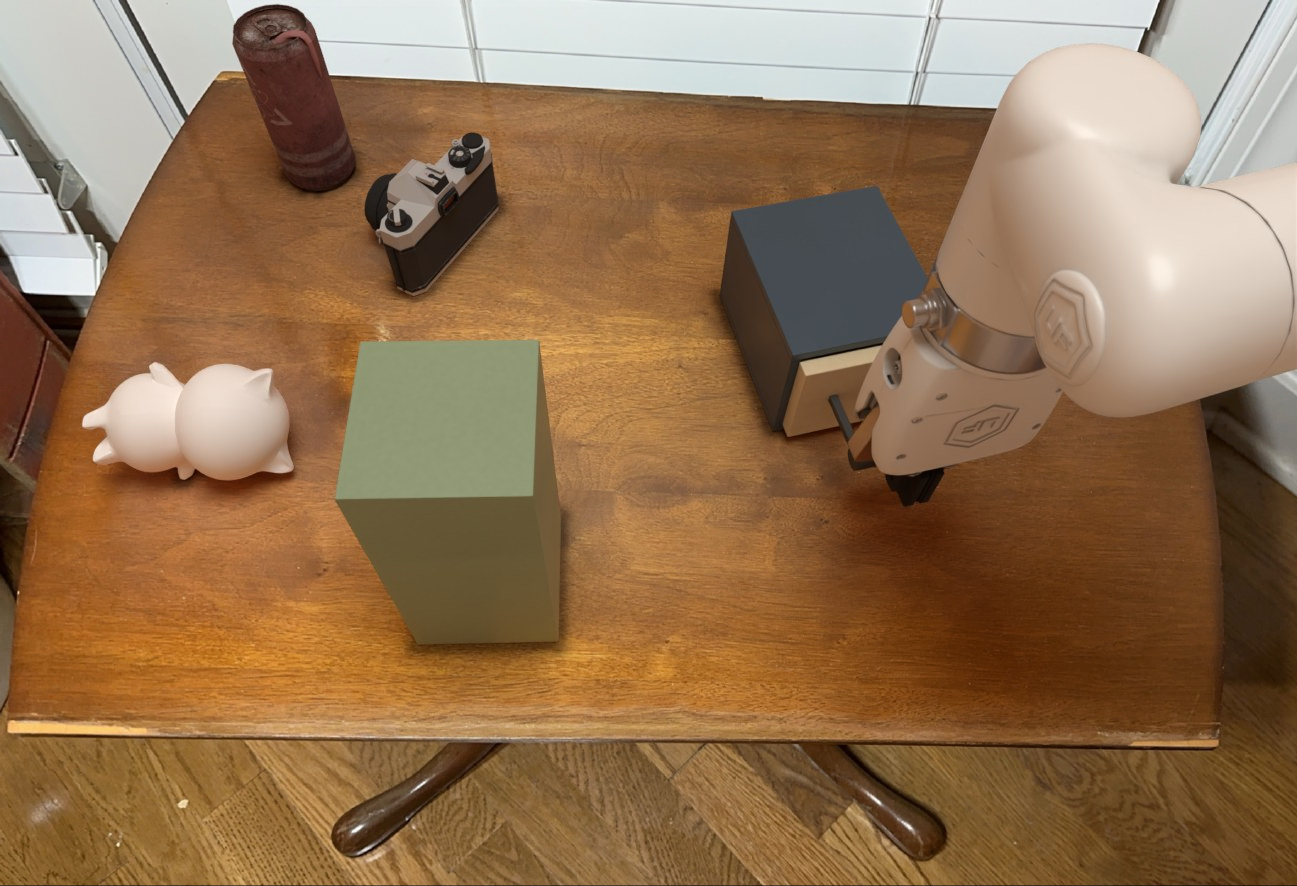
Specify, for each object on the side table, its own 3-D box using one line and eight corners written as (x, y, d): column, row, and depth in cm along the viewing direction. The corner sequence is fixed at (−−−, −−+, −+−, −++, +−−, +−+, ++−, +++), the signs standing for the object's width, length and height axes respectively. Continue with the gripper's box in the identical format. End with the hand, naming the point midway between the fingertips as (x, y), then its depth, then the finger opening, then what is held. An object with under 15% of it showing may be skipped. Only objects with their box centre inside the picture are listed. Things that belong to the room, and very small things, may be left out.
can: (346, 198, 79) (297, 55, 67) (275, 188, 79) (214, 44, 67) (369, 150, 82) (326, 5, 70) (300, 141, 82) (246, -5, 70)
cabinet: (914, 401, 69) (953, 323, 61) (772, 431, 68) (792, 355, 60) (850, 270, 76) (877, 185, 68) (719, 295, 74) (731, 210, 66)
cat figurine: (57, 387, 57) (250, 383, 57) (140, 330, 66) (306, 327, 66) (97, 509, 61) (278, 505, 61) (170, 439, 70) (327, 436, 70)
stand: (558, 641, 59) (533, 496, 42) (417, 644, 59) (333, 499, 42) (561, 516, 64) (539, 339, 47) (430, 518, 63) (359, 341, 46)
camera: (435, 171, 81) (409, 89, 73) (511, 199, 79) (493, 118, 71) (351, 278, 76) (313, 202, 68) (431, 311, 74) (402, 237, 66)
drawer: (949, 475, 65) (986, 416, 59) (814, 506, 64) (837, 449, 57) (855, 285, 74) (878, 215, 68) (735, 308, 73) (746, 239, 66)
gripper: (891, 392, 42) (819, 562, 57) (1178, 331, 44) (1034, 509, 60) (832, 273, 46) (780, 462, 61) (1099, 222, 48) (983, 417, 64)
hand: (906, 485), depth 60 cm, fingers closed
